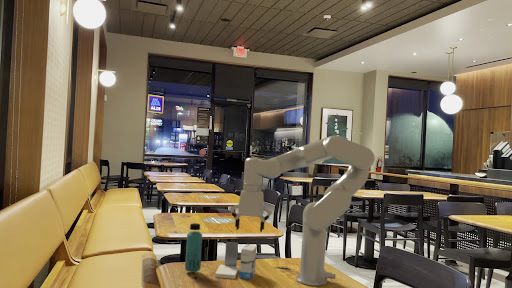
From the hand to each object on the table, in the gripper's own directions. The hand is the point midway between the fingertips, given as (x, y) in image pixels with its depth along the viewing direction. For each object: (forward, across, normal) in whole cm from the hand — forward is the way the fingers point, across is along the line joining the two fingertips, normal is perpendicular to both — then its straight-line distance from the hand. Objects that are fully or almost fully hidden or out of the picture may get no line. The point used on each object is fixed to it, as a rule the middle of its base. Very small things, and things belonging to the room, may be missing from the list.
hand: (249, 230), depth 160 cm
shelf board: (+19, +8, -1) cm, 20 cm away
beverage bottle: (+19, +22, +2) cm, 29 cm away
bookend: (+17, +8, -6) cm, 20 cm away
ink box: (+19, -1, 0) cm, 19 cm away
